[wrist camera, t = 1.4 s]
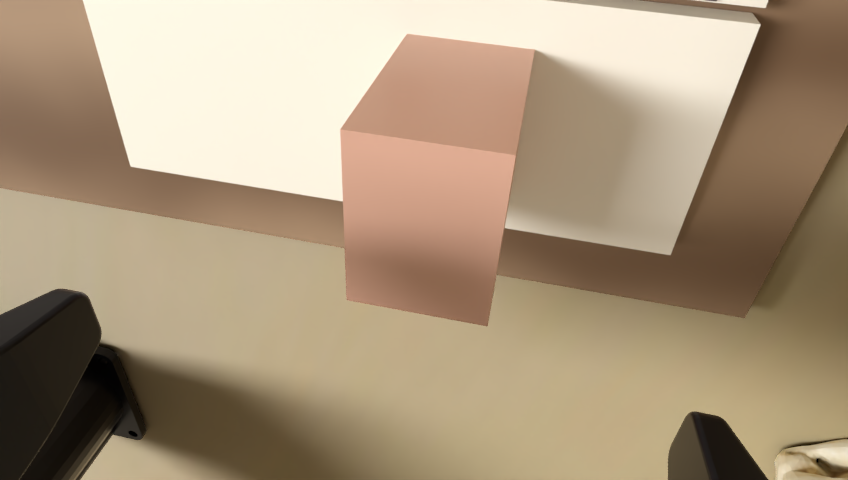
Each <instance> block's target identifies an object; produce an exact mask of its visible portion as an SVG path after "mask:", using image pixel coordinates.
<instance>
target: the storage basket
mask: <svg viewBox="0 0 848 480" xmlns="http://www.w3.org/2000/svg"><path fill="white" fill-rule="evenodd" d="M817 458H818V460H819V463H816V459H817ZM774 464H775V468H776V479H775V480H848V439H842V440H835V441H830V442H825V443H820V444H815V445H810V446H799V447H792V448H787V449H784V450H782V451H781V452H780V453H779V454H778V455H777V457H776V460H775V462H774Z"/></svg>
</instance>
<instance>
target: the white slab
mask: <svg viewBox="0 0 848 480" xmlns="http://www.w3.org/2000/svg"><path fill="white" fill-rule="evenodd" d="M83 3H84V6H85V10H86V13H87V17H88V20H89V24H90V27H91V31H92V34H93V38H94V41H95V45H96V48H97V52H98V55H99V59H100V62H101V66H102V69H103V72H104V76H105V79H106V83H107V86H108V90H109V93H110V97H111V100H112V104H113V107H114V111H115V114H116V118H117V121H118V125H119V128H120V132H121V135H122V139H123V142H124V146H125V149H126V153H127V156H128V160H129V163H130V166H131V167H136V168H142V169H148V170H154V171H160V172H166V173H172V174H178V175H184V176H190V177H197V178H203V179H209V180H215V181H221V182H227V183H233V184H239V185H245V186H251V187H257V188H264V189H270V190H276V191H282V192H288V193H294V194H300V195H306V196H312V197H318V198H324V199H331V200H337V201H343V217H344V243H345V269H346V296H347V300H349V301H355V302H360V303H365V304H371V305H376V306H382V307H387V308H392V309H398V310H403V311H408V312H414V313H419V314H424V315H430V316H435V317H441V318H446V319H451V320H457V321H462V322H467V323H473V324H478V325H483V326H488V321H489V315H490V309H491V303H492V298H493V292H494V286H495V281H496V275H497V269H498V263H499V258H500V252H501V246H502V241H503V235H504V229H505V228H507V229H513V230H519V231H525V232H531V233H538V234H544V235H550V236H556V237H562V238H568V239H574V240H580V241H586V242H592V243H598V244H605V245H611V246H617V247H623V248H629V249H635V250H641V251H647V252H653V253H659V254H665V255H671V253H672V250H673V247H674V245H675V242H676V240H677V237H678V235H679V232H680V230H681V227H682V224H683V222H684V219H685V217H686V214H687V212H688V209H689V207H690V204H691V201H692V199H693V196H694V194H695V191H696V189H697V186H698V184H699V181H700V178H701V176H702V173H703V171H704V168H705V166H706V163H707V161H708V158H709V155H710V153H711V150H712V148H713V145H714V143H715V140H716V138H717V135H718V132H719V130H720V127H721V125H722V122H723V120H724V117H725V115H726V112H727V109H728V107H729V104H730V102H731V99H732V97H733V94H734V92H735V89H736V86H737V84H738V81H739V79H740V76H741V74H742V71H743V69H744V66H745V63H746V61H747V58H748V56H749V53H750V51H751V48H752V46H753V43H754V40H755V38H756V35H757V33H758V30H759V28H760V25H761V24H760V23H759V21H758V20H757V19H756V17H755V16H754V15H753V13H749V12H740V11H730V10H721V9H712V8H703V7H694V6H685V5H676V4H667V3H658V2H649V1H640V0H83Z"/></svg>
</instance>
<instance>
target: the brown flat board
mask: <svg viewBox="0 0 848 480" xmlns="http://www.w3.org/2000/svg"><path fill="white" fill-rule="evenodd" d="M640 1H649V2H658V3H667V4H676V5H685V6H694V7H703V8H712V9H721V10H730V11H740V12H749V13H753V15H754V16H755V17H756V19H757V20H758V21H759V23H760V24H761V25H760V28H759V30H758V33H757V35H756V38H755V40H754V43H753V46H752V48H751V51H750V53H749V56H748V58H747V61H746V63H745V66H744V69H743V71H742V74H741V76H740V79H739V81H738V84H737V86H736V89H735V92H734V94H733V97H732V99H731V102H730V104H729V107H728V109H727V112H726V115H725V117H724V120H723V122H722V125H721V127H720V130H719V132H718V135H717V138H716V140H715V143H714V145H713V148H712V150H711V153H710V155H709V158H708V161H707V163H706V166H705V168H704V171H703V173H702V176H701V178H700V181H699V184H698V186H697V189H696V191H695V194H694V196H693V199H692V201H691V204H690V207H689V209H688V212H687V214H686V217H685V219H684V222H683V224H682V227H681V230H680V232H679V235H678V237H677V240H676V242H675V245H674V247H673V250H672V253H671V255H665V254H659V253H653V252H647V251H641V250H635V249H629V248H623V247H617V246H611V245H605V244H598V243H592V242H586V241H580V240H574V239H568V238H562V237H556V236H550V235H544V234H538V233H531V232H525V231H519V230H513V229H507V228H505V229H504V235H503V241H502V246H501V252H500V258H499V263H498V269H497V275H501V276H507V277H513V278H519V279H524V280H530V281H536V282H542V283H547V284H553V285H559V286H564V287H570V288H576V289H582V290H587V291H593V292H599V293H604V294H610V295H616V296H622V297H627V298H633V299H639V300H645V301H650V302H656V303H662V304H667V305H673V306H679V307H685V308H690V309H696V310H702V311H707V312H713V313H719V314H725V315H730V316H736V317H742V318H745V316H746V315H747V313H748V311H749V309H750V307H751V305H752V303H753V301H754V300H755V298H756V296H757V294H758V292H759V290H760V288H761V286H762V285H763V283H764V281H765V279H766V277H767V275H768V273H769V271H770V270H771V268H772V266H773V264H774V262H775V260H776V258H777V256H778V255H779V253H780V251H781V249H782V247H783V245H784V243H785V241H786V240H787V238H788V236H789V234H790V232H791V230H792V228H793V226H794V225H795V223H796V221H797V219H798V217H799V215H800V213H801V211H802V210H803V208H804V206H805V204H806V202H807V200H808V198H809V196H810V195H811V193H812V191H813V189H814V187H815V185H816V183H817V181H818V180H819V178H820V176H821V174H822V172H823V170H824V168H825V166H826V165H827V163H828V161H829V159H830V157H831V155H832V153H833V151H834V150H835V148H836V146H837V144H838V142H839V140H840V138H841V136H842V135H843V133H844V131H845V129H846V127H847V125H848V0H640ZM0 188H4V189H9V190H15V191H21V192H27V193H32V194H38V195H44V196H49V197H55V198H61V199H67V200H72V201H78V202H84V203H90V204H95V205H101V206H107V207H112V208H118V209H124V210H130V211H135V212H141V213H147V214H152V215H158V216H164V217H170V218H175V219H181V220H187V221H193V222H198V223H204V224H210V225H215V226H221V227H227V228H233V229H238V230H244V231H250V232H255V233H261V234H267V235H273V236H278V237H284V238H290V239H295V240H301V241H307V242H313V243H318V244H324V245H330V246H336V247H341V248H345V243H344V217H343V201H337V200H331V199H324V198H318V197H312V196H306V195H300V194H294V193H288V192H282V191H276V190H270V189H264V188H257V187H251V186H245V185H239V184H233V183H227V182H221V181H215V180H209V179H203V178H197V177H190V176H184V175H178V174H172V173H166V172H160V171H154V170H148V169H142V168H136V167H131V166H130V163H129V160H128V156H127V153H126V149H125V146H124V142H123V139H122V135H121V132H120V128H119V125H118V121H117V118H116V114H115V111H114V107H113V104H112V100H111V97H110V93H109V90H108V86H107V83H106V79H105V76H104V72H103V69H102V66H101V62H100V59H99V55H98V52H97V48H96V45H95V41H94V38H93V34H92V31H91V27H90V24H89V20H88V17H87V13H86V10H85V6H84V3H83V0H0Z"/></svg>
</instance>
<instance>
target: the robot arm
mask: <svg viewBox="0 0 848 480" xmlns="http://www.w3.org/2000/svg"><path fill="white" fill-rule="evenodd" d="M100 339H101V327H100V324H99V322H98V319H97V317H96V314H95V312H94V309H93V307H92V304H91V302H90V299H89V298H88V296H87V295H86V294H84V293H82V292H78V291H73V290H68V289H56V290H53V291H51V292H49V293H46V294H44V295H42V296H40V297H38V298H36V299H33V300H31V301H29V302H27V303H25V304H23V305H20V306H18V307H16V308H14V309H12V310H10V311H8V312H5V313H3V314H1V315H0V480H80V479H81V478H82V477H83V475H84V474H85V472H86V471H87V470H88V468H89V467H90V465H91V464H92V463H93V461H94V460H95V458H96V457H97V456H98V454H99V453H100V452H101V450H102V449H103V447H104V446H105V445H106V443H107V442H108V440H109V439H110V438H111V436H112V435H118V436H122V437H126V438H131V439H135V440H140V439H142V438H143V436H144V435H145V433H146V432H147V429H146V427H145V424H144V422H143V419H142V416H141V414H140V411H139V409H138V406H137V404H136V401H135V398H134V396H133V393H132V391H131V388H130V386H129V383H128V380H127V378H126V375H125V373H124V370H123V368H122V365H121V362H120V360H119V357H118V356H117V354H116V353H115V352H114V351H112V350H110V349H108V348H104V347H99V346H98V345H99V343H100ZM668 480H768V479H767V477H766V476H765V475H764V473H763V472H762V470H761V469H760V468H759V466H758V465H757V464H756V462H755V461H754V459H753V458H752V457H751V455H750V454H749V453H748V451H747V450H746V448H745V447H744V446H743V444H742V443H741V442H740V440H739V439H738V437H737V436H736V435H735V433H734V432H733V431H732V429H731V428H730V426H729V425H728V424H727V422H726V421H725V420H723V419H722V418H721V417H719V416H715V415H710V414H705V413H700V412H690V413H689V414H688V415H687V416H686V417H685V419H684V421H683V423H682V425H681V427H680V429H679V431H678V433H677V435H676V437H675V438H674V440H673V442H672V444H671V447H670V450H669V456H668Z"/></svg>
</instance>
